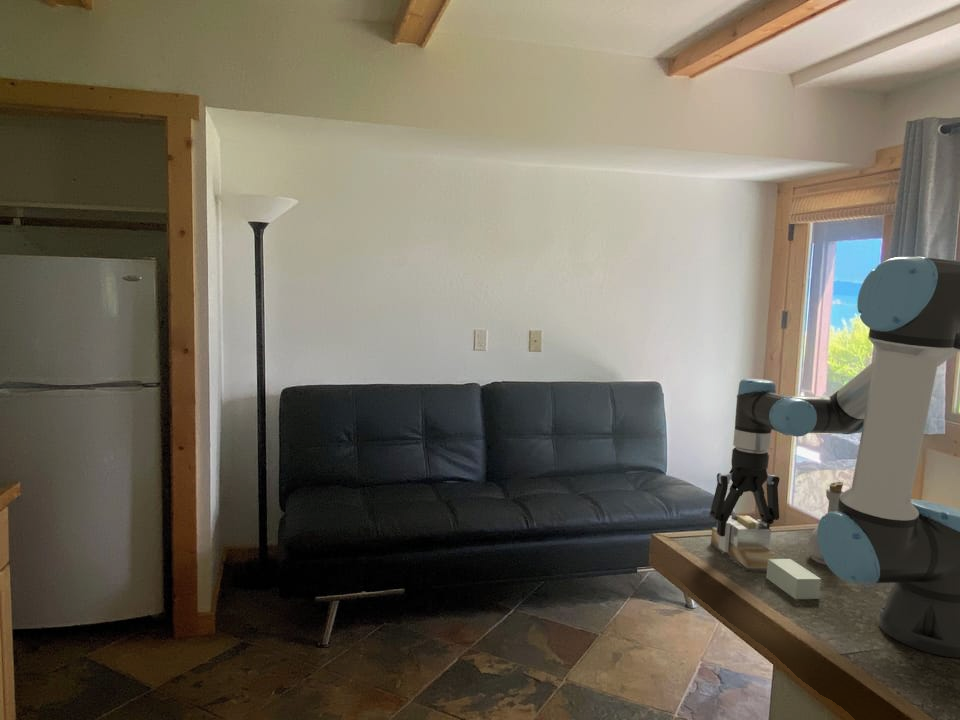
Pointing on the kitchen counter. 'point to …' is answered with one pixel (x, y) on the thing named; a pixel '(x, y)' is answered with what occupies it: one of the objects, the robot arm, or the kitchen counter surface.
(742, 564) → the plane body
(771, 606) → the kitchen counter surface
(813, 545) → the potion bottle
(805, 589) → the block
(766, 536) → the lever cap
